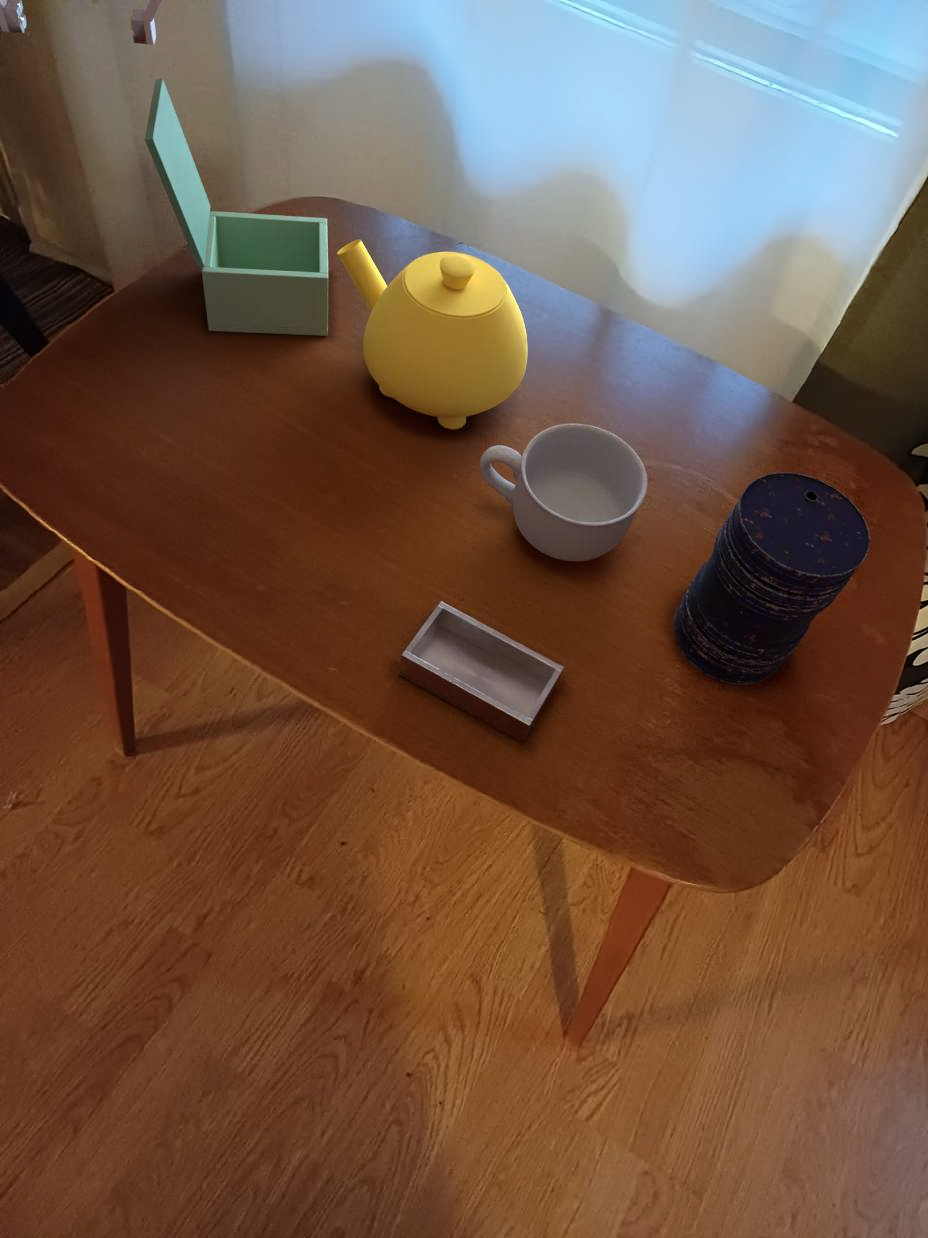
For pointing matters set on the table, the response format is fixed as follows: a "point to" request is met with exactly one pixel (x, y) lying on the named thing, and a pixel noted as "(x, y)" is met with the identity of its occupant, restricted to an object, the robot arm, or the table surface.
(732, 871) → the table surface
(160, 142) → the lunchbox lid
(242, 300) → the lunchbox
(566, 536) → the teacup
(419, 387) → the teapot
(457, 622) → the open storage tray
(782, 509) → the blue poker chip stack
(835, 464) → the table surface
